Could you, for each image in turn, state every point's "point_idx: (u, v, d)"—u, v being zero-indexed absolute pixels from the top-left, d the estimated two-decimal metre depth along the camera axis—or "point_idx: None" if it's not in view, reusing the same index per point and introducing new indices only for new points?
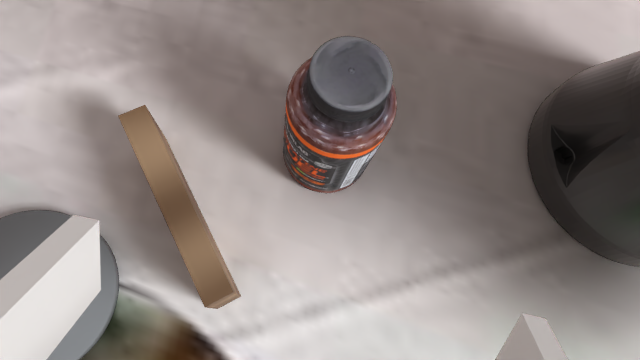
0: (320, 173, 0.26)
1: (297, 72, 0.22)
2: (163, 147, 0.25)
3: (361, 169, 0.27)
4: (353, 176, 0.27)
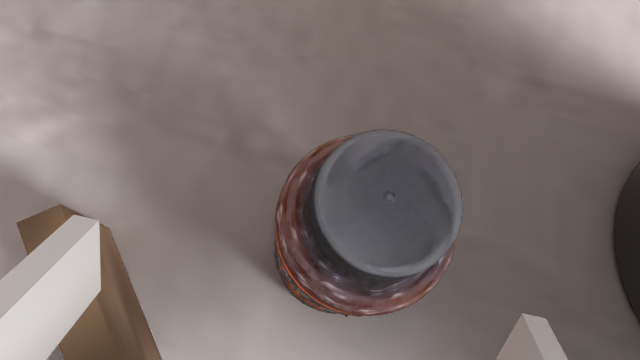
0: (328, 311, 0.17)
1: (294, 175, 0.14)
2: None
3: None
4: None
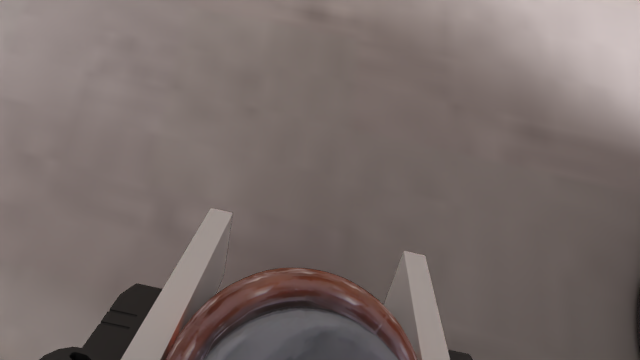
0: None
1: (178, 346, 0.09)
2: None
3: None
4: None
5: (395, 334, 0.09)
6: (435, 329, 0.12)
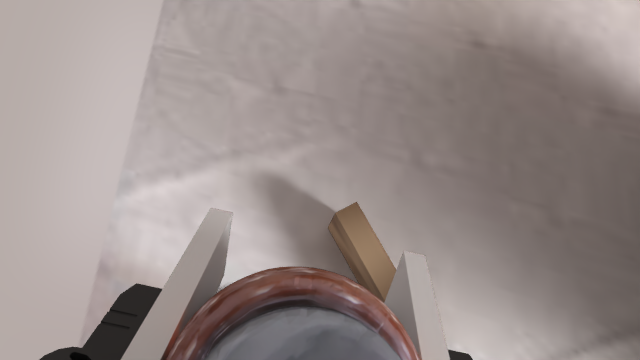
0: None
1: (179, 345, 0.09)
2: (378, 242, 0.27)
3: None
4: None
5: (397, 333, 0.09)
6: (435, 329, 0.12)
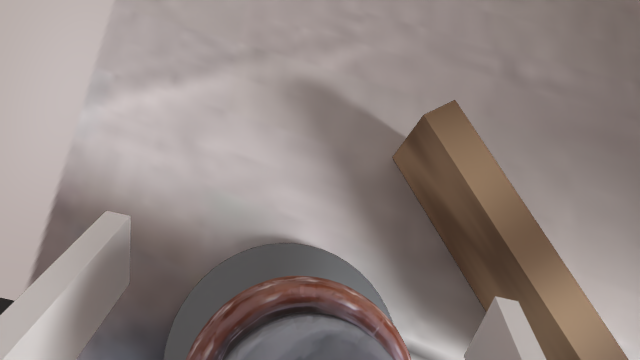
0: None
1: (198, 346, 0.10)
2: (492, 159, 0.17)
3: None
4: None
5: (391, 336, 0.10)
6: None
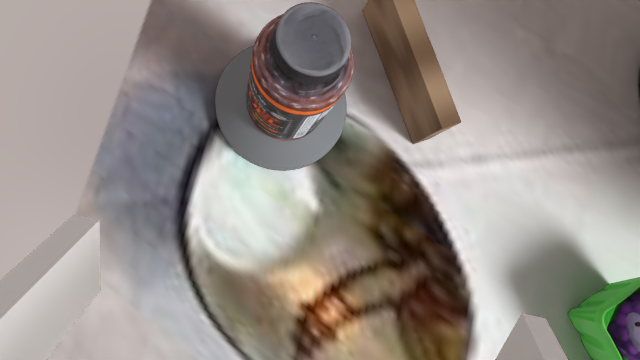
0: (275, 122, 0.28)
1: (266, 26, 0.24)
2: (415, 6, 0.32)
3: (314, 125, 0.29)
4: (306, 130, 0.29)
5: None
6: None
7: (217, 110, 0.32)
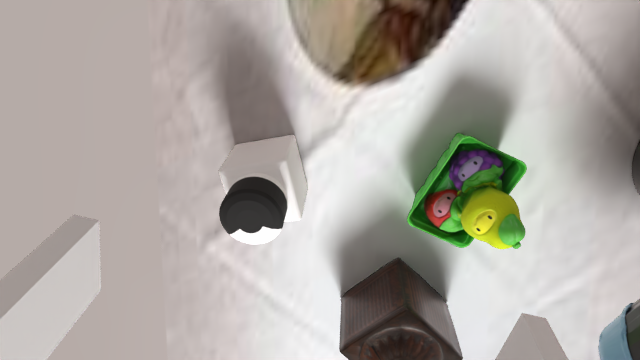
0: None
1: None
2: None
3: None
4: None
5: None
6: None
7: None
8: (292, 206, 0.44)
